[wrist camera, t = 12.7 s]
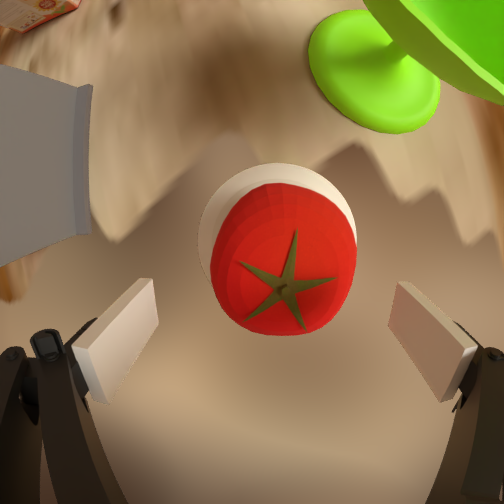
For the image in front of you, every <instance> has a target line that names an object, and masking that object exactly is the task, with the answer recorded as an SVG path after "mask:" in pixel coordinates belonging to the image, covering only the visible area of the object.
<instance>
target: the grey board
mask: <svg viewBox="0 0 504 504" xmlns="http://www.w3.org/2000/svg"><path fill="white" fill-rule="evenodd" d="M92 90H93V86H92V85H90V84H87V85H84V86H81V87H78V88H77V87H74V86H71V85H69V84H66V83H63V82H60V81H57V80H54V79H51V78H48V77H44V76H41V75H38V74H35V73H31V72H28V71H24V70H21V69H17V68H14V67H10V66H6V65H2V64H0V267H2V266H4V265H6V264H8V263H10V262H13V261H15V260H17V259H19V258H22V257H24V256H26V255H28V254H31V253H33V252H35V251H38V250H40V249H43V248H45V247H47V246H50V245H52V244H55V243H57V242H60V241H62V240H64V239H67V238H70V237H72V236H75V235H88V234H91V233H92V227H91V217H90V201H89V176H88V149H89V124H90V110H91V99H92Z"/></svg>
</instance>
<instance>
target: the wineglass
mask: <svg viewBox="0 0 504 504" xmlns="http://www.w3.org/2000/svg"><path fill="white" fill-rule="evenodd" d="M363 2H364V3H365V5H366V7H367V8H368V10H369V11H367V10H345V11H342V12H339V13H336V14H333V15H330V16H329V17H327V18H326V19H325V20H323V21H322V22H321V23H319V24H318V26H317V27H316V29H315V30H314V32H313V34H312V35H311V38H310V43H309V48H308V56H309V64H310V69H311V71H312V74H313V76H314V78H315V81H316V83H317V85H318V87H319V88H320V89H321V91H322V92H323V93H324V95H325V96H326V98H327V99H328V101H329V102H330V103H332V104H333V105H334V106H335V107H336V108H337V109H338V110H339V111H340V112H341V113H342V114H343V115H345V116H346V117H348V118H350V119H351V120H353V121H354V122H356V123H358V124H359V125H361V126H363V127H366V128H369V129H372V130H374V131H377V132H380V133H389V134H402V133H407V132H413V131H414V130H416V129H418V128H420V127H421V126H423V125H425V124H426V123H427V122H428V120H429V119H430V118H431V117H432V116H433V114H434V113H435V111H436V108H437V105H438V102H439V99H440V80H439V78H440V79H441V80H443V81H445V82H447V83H448V84H450V85H452V86H453V87H455V88H457V89H458V90H460V91H462V92H465V93H468V94H471V95H474V96H477V97H479V98H482V99H485V100H488V101H491V102H493V103H496V104H499V105H501V106H504V0H363Z"/></svg>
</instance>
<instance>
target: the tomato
mask: <svg viewBox="0 0 504 504" xmlns="http://www.w3.org/2000/svg"><path fill="white" fill-rule="evenodd" d="M356 256H357V247H356V242H355V237H354V233H353V230H352V228H351V226H350V224H349V222H348V220H347V218H346V216H345V214H344V213H343V212H342V211H341V210H340V209H339V207H338V206H337V205H336V204H335V203H333V202H332V201H331V200H329V199H328V198H327V197H325V196H324V195H322V194H320V193H317V192H315V191H313V190H311V189H307V188H304V187H300V186H297V185H292V184H286V183H267V184H263V185H261V186H259V187H257V188H254V189H252V190H251V191H249V192H248V193H247V194H246V195H244V196H243V197H241V198H240V200H239V201H238V202H237V203H236V204H235V205H234V206H233V207H232V209H231V210H230V212H229V213H228V215H227V216H226V218H225V220H224V221H223V223H222V226H221V228H220V230H219V233H218V235H217V238H216V241H215V244H214V247H213V251H212V256H211V262H210V275H211V283H212V286H213V289H214V292H215V294H216V297H217V299H218V301H219V303H220V305H221V307H222V309H223V310H224V311H225V312H226V314H227V315H228V316H229V317H230V318H231V319H232V320H234V321H235V322H236V323H237V324H239V325H240V326H242V327H244V328H246V329H248V330H250V331H252V332H255V333H259V334H264V335H276V336H289V335H290V336H291V335H300V334H306V333H311V332H313V331H315V330H317V329H320V328H322V327H323V326H324V325H326V324H327V323H328V322H329V321H331V320H332V318H333V317H334V316H335V315H336V314H337V312H338V311H339V310H340V308H341V306H342V305H343V303H344V301H345V299H346V297H347V295H348V292H349V290H350V287H351V285H352V280H353V276H354V271H355V267H356Z"/></svg>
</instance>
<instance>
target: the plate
mask: <svg viewBox="0 0 504 504" xmlns="http://www.w3.org/2000/svg"><path fill="white" fill-rule="evenodd" d="M267 183H286V184H292V185H297V186H300V187H304V188H307V189H311V190H313V191H315V192H317V193H320V194H322V195H324V196H325V197H327V198H328V199H329V200H331V201H332V202H333V203H335V204H336V205H337V206H338V207H339V209H340V210H341V211H342V212H343V213H344V214H345V216H346V218H347V220H348V222H349V224H350V226H351V228H352V230H353V233H354V237H355V242H356V243H357V237H356V227H355V223H354V219H353V216H352V213H351V211H350V208H349V206H348V204H347V203H346V201H345V199H344V198H343V196H342V195H341V194H340V192H339V191H338V190H337V189H336V188H335V187H334V186H333V185H332V184H331V183H330V182H329V181H327V180H326V179H325V178H323V177H322V176H321V175H319V174H317V173H315V172H314V171H312V170H309V169H307V168H304V167H301V166H297V165H293V164H286V163H268V164H262V165H257V166H254V167H251V168H248V169H245V170H243V171H241V172H239V173H237V174H236V175H234V176H233V177H231V178H230V179H228V180H227V181H226V182H225V183H224V184H223V185H221V186H220V187H219V188H218V190H217V191H216V192H215V193H214V194H213V195H212V197H211V198H210V200H209V202H208V203H207V205H206V207H205V209H204V211H203V213H202V216H201V220H200V223H199V229H198V238H197V246H198V254H199V259H200V263H201V266H202V268H203V271H204V273H205V275H206V277H207V279H208V281H209V282H210V284H211V285H212V283H211V275H210V262H211V256H212V251H213V247H214V244H215V241H216V238H217V235H218V233H219V230H220V228H221V226H222V223H223V221H224V220H225V218H226V216H227V215H228V213H229V212H230V210H231V209H232V207H233V206H234V205H235V204H236V203H237V202H238V201H239V200H240V198H241V197H243V196H244V195H246V194H247V193H248V192H249V191H251V190H252V189H254V188H257V187H259V186H261V185H263V184H267Z"/></svg>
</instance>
